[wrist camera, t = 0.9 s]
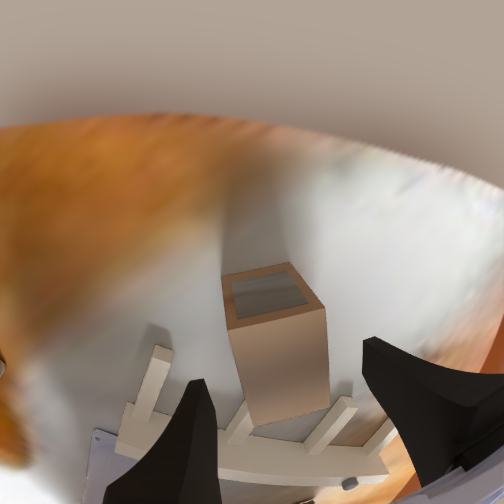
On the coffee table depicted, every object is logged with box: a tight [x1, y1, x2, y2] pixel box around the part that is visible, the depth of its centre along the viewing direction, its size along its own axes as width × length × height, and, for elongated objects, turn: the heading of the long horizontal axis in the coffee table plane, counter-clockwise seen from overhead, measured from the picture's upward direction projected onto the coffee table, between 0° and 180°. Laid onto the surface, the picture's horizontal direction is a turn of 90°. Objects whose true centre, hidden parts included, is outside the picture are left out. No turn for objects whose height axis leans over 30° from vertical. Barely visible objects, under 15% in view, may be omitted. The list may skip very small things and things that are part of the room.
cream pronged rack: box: [114, 345, 398, 490], centre depth 19 cm, size 8×24×5 cm, turn 65°
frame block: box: [221, 262, 330, 427], centre depth 16 cm, size 6×4×6 cm, turn 10°
